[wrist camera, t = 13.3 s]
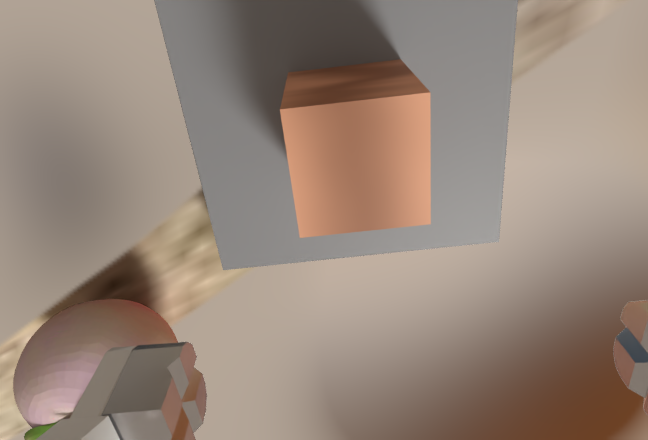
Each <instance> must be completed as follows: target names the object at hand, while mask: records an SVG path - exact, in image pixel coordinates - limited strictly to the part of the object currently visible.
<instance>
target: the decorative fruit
mask: <svg viewBox="0 0 648 440" xmlns="http://www.w3.org/2000/svg"><path fill="white" fill-rule="evenodd" d="M165 343H178V341H177V339H176V337H175V334H174V333H173V331H172V329H171V328H170V326H169V325H168V323H167V322H166V321H165V320H164V319H163V318H162V317H161V316H160V315H159V314H158V313H156V312H155V311H153V310H152V309H150V308H148V307H146V306H144V305H142V304H140V303H137V302H134V301H129V300H123V299H101V300H94V301H87V302H83V303H79V304H76V305H73V306H71V307H69V308H66V309H65V310H63V311H61V312H59V313H58V314H56V315H54V316H53V317H52V318H50V319H49V320H48V321H47V322H45V323H44V324H43V325H42V326H41V327H40V328H39V329H38V330H37V331H36V332H35V334H34V335H33V336H32V337H31V339H30V340H29V341H28V343H27V344H26V346H25V348H24V350H23V352H22V354H21V356H20V358H19V361H18V363H17V366H16V369H15V374H14V381H13V389H14V396H15V401H16V404H17V406H18V409H19V411H20V413H21V414H22V416H23V417H24V419H25V420H26V421H27V423H28V424H29V425H30V426H31V427H32V429H30V430H29V431H27V432H26V433H25V436H24V438H25V440H36V439H37V438H38V437H40V436H41V435H42V434H43V433H45V432H46V431H47V430H49V429H50V428H51V427H52V426H54V425H55V424H56V423H57V422H59V421H60V420H61V419H70V417H71V415H72V413H73V411H74V410H75V408H76V406H77V404H78V402H79V400H80V399H81V397H82V395H83V393H84V391H85V389H86V388H87V386H88V384H89V382H90V380H91V378H92V377H93V375H94V373H95V371H96V369H97V367H98V365H99V364H100V362H101V360H102V358H103V356H104V354H105V353H106V352H107V351H108V350H110V349H111V348H112V347H128V346H138V345H150V344H165Z"/></svg>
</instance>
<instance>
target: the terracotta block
mask: <svg viewBox="0 0 648 440" xmlns="http://www.w3.org/2000/svg"><path fill="white" fill-rule="evenodd" d="M280 114H281V120H282V127H283V133H284V139H285V146H286V152H287V159H288V165H289V171H290V178H291V184H292V191H293V197H294V204H295V210H296V216H297V223H298V229H299V236H300V238H304V237H314V236H323V235H333V234H343V233H352V232H362V231H371V230H381V229H390V228H400V227H409V226H419V225H428V224H431V108H430V91H429V90H428V89H427V88H426V87H425V86H424V85H423V83H422V82H421V81H420V80H419V79H418V78H417V77H416V76H415V75H414V73H413V72H412V71H411V70H410V69H409V68H408V67H407V66H406V64H405V63H404V62H403V61H402V60H401V59H399V60H391V61H382V62H374V63H365V64H357V65H348V66H339V67H331V68H322V69H314V70H305V71H297V72H288V75H287V80H286V84H285V89H284V93H283V98H282V102H281V107H280Z"/></svg>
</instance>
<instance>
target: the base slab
mask: <svg viewBox="0 0 648 440" xmlns="http://www.w3.org/2000/svg"><path fill="white" fill-rule="evenodd" d="M154 1H155V5H156V8H157V13H158V16H159V20H160V24H161V28H162V31H163V36H164V40H165V44H166V48H167V52H168V55H169V60H170V64H171V67H172V71H173V75H174V79H175V83H176V87H177V91H178V95H179V98H180V102H181V107H182V110H183V114H184V118H185V122H186V126H187V130H188V134H189V138H190V142H191V146H192V149H193V154H194V157H195V161H196V165H197V169H198V173H199V177H200V181H201V185H202V189H203V193H204V197H205V201H206V204H207V208H208V212H209V216H210V220H211V224H212V228H213V232H214V236H215V240H216V244H217V248H218V251H219V255H220V259H221V263H222V267H223V270H229V269H238V268H248V267H258V266H268V265H277V264H287V263H296V262H306V261H316V260H326V259H335V258H345V257H355V256H364V255H374V254H384V253H393V252H403V251H413V250H423V249H433V248H441V247H452V246H462V245H472V244H481V243H491V242H499V234H500V220H501V208H502V196H503V195H502V194H503V183H504V170H505V157H506V145H507V132H508V118H509V107H510V94H511V81H512V68H513V56H514V43H515V30H516V17H517V5H518V0H154ZM399 59H401V60H402V61H403V62H404V63H405V64H406V66H407V67H408V68H409V69H410V70H411V71H412V72H413V73H414V75H415V76H416V77H417V78H418V79H419V80H420V81H421V82H422V83H423V85H424V86H425V87H426V88H427V89H428V90H429V91H430V108H431V224H428V225H419V226H409V227H400V228H390V229H381V230H371V231H362V232H352V233H343V234H333V235H323V236H314V237H304V238H300V236H299V229H298V223H297V216H296V210H295V204H294V197H293V191H292V184H291V178H290V171H289V165H288V159H287V152H286V146H285V139H284V133H283V127H282V120H281V114H280V107H281V102H282V98H283V93H284V89H285V84H286V80H287V75H288V72H297V71H305V70H314V69H322V68H331V67H339V66H348V65H357V64H365V63H374V62H382V61H391V60H399Z"/></svg>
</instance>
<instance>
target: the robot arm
mask: <svg viewBox="0 0 648 440" xmlns="http://www.w3.org/2000/svg"><path fill="white" fill-rule="evenodd" d="M620 319H621V321H622V322H623V323H624V325H625V326H626V328H625V329H624V330H623V331H622V332H621V333H620V334H619V335H618V336H617V337H616V338H615V343H614V349H613V353H614V360H615V366H616V368H617V370H618V373H619V375H620V377H621V378H622V380H623V381H624V383H625V384H626V386H627V387H628V388H629V389H630V390H632V391H634V392H636V393H637V394H639V395H641V396H642V397H644V406H643V409H644V411H645V412H646V414H647V415H648V300H644V301H634V302H628V303H627V304H626V306H625V307H624V308H623V311H622V315H621V318H620ZM196 357H197V356H196V353H195V351H194V348H193V345H192V344H191V343H189V342H180V343H165V344H150V345H138V346H128V347H112V348H111V349H110V350H108V351H107V352H106V353H105V354H104V356H103V358H102V360H101V362H100V364H99V365H98V367H97V369H96V371H95V373H94V375H93V377H92V378H91V380H90V382H89V384H88V386H87V388H86V389H85V391H84V393H83V395H82V397H81V399H80V400H79V402H78V404H77V406H76V408H75V410H74V411H73V413H72V415H71V417H70V419H61V420H60V421H59V422H57V423H56V424H55V425H54V426H52V427H51V428H50V429H49V430H47V431H46V432H45V433H43V434H42V435H41V436H40V437H38V438H37V439H36V440H196V439H195V436H194V432H195V431H196V430H197V429H198V428H199V427H200V426H201V425H202V424H203V421H204V416H205V412H206V399H207V393H206V386H205V381H204V378H203V374H202V373H201V372H199V371H198V370H197V369H195V368H194V365H195V361H196Z"/></svg>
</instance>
